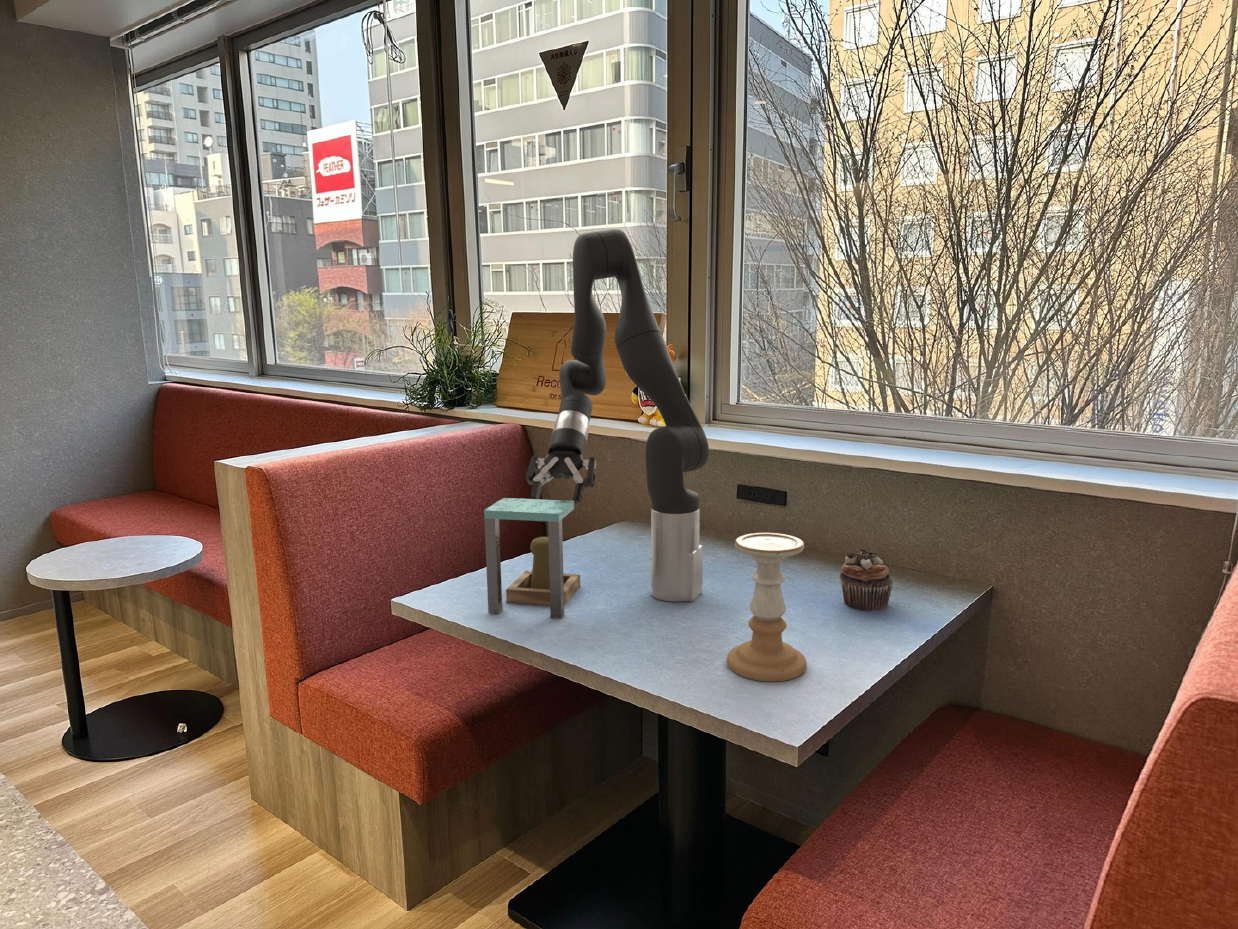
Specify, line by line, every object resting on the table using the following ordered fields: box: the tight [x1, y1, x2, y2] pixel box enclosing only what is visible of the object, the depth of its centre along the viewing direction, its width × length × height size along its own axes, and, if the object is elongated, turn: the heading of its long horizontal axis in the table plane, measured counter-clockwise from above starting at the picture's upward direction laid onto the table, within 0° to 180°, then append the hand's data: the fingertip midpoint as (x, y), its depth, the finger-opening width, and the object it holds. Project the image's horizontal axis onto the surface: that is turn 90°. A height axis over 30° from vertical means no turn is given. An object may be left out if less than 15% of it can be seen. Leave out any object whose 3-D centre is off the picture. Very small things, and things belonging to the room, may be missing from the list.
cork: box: [530, 536, 550, 590], centre depth 167 cm, size 6×6×11 cm
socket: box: [505, 570, 581, 607], centre depth 167 cm, size 12×12×2 cm
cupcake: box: [839, 549, 894, 612], centre depth 159 cm, size 10×10×10 cm
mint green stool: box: [483, 497, 575, 619], centre depth 158 cm, size 10×14×20 cm
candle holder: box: [726, 532, 808, 682], centre depth 131 cm, size 12×12×20 cm
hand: (555, 501), depth 173 cm, fingers open, 8 cm apart
